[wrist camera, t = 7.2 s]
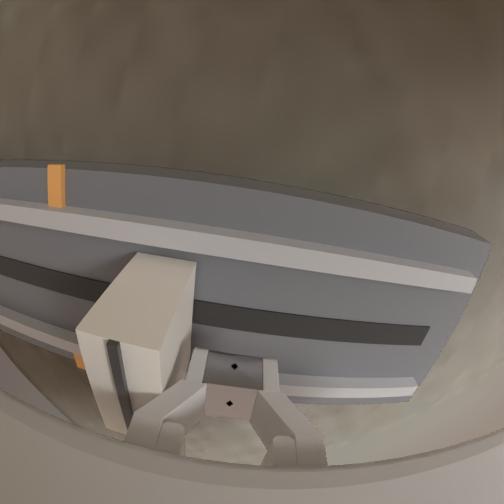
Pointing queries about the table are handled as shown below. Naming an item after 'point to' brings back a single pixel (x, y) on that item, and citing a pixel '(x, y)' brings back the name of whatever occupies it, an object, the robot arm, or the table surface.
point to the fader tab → (138, 336)
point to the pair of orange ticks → (58, 200)
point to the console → (244, 271)
